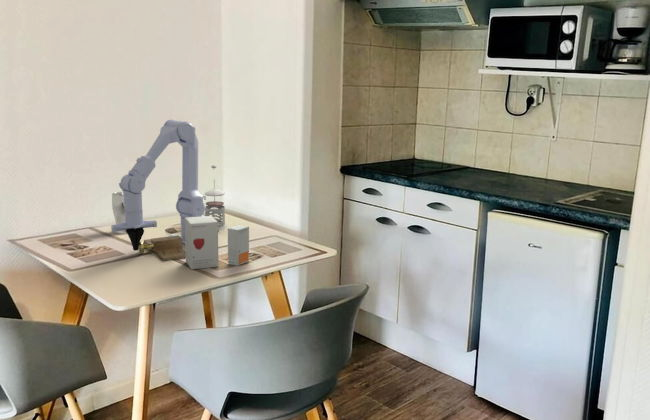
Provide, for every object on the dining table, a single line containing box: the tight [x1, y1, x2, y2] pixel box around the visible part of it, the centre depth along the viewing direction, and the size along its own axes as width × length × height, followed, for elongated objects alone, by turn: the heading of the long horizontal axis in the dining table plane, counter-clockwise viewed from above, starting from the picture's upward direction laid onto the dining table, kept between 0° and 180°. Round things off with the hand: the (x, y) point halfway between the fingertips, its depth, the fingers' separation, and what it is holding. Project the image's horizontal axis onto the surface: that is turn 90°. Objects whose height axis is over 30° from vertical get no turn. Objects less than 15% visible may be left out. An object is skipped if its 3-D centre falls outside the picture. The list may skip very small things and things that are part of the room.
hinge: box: [143, 234, 186, 262], centre depth 205 cm, size 10×24×4 cm, turn 31°
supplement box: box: [184, 215, 220, 270], centre depth 189 cm, size 9×9×15 cm
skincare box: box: [227, 224, 250, 267], centre depth 192 cm, size 6×4×12 cm
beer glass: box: [111, 191, 128, 235], centre depth 225 cm, size 7×7×15 cm
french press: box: [202, 164, 228, 231], centre depth 234 cm, size 10×12×25 cm
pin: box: [138, 241, 154, 254], centre depth 203 cm, size 10×4×4 cm, turn 121°
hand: (135, 249), depth 200 cm, fingers closed
